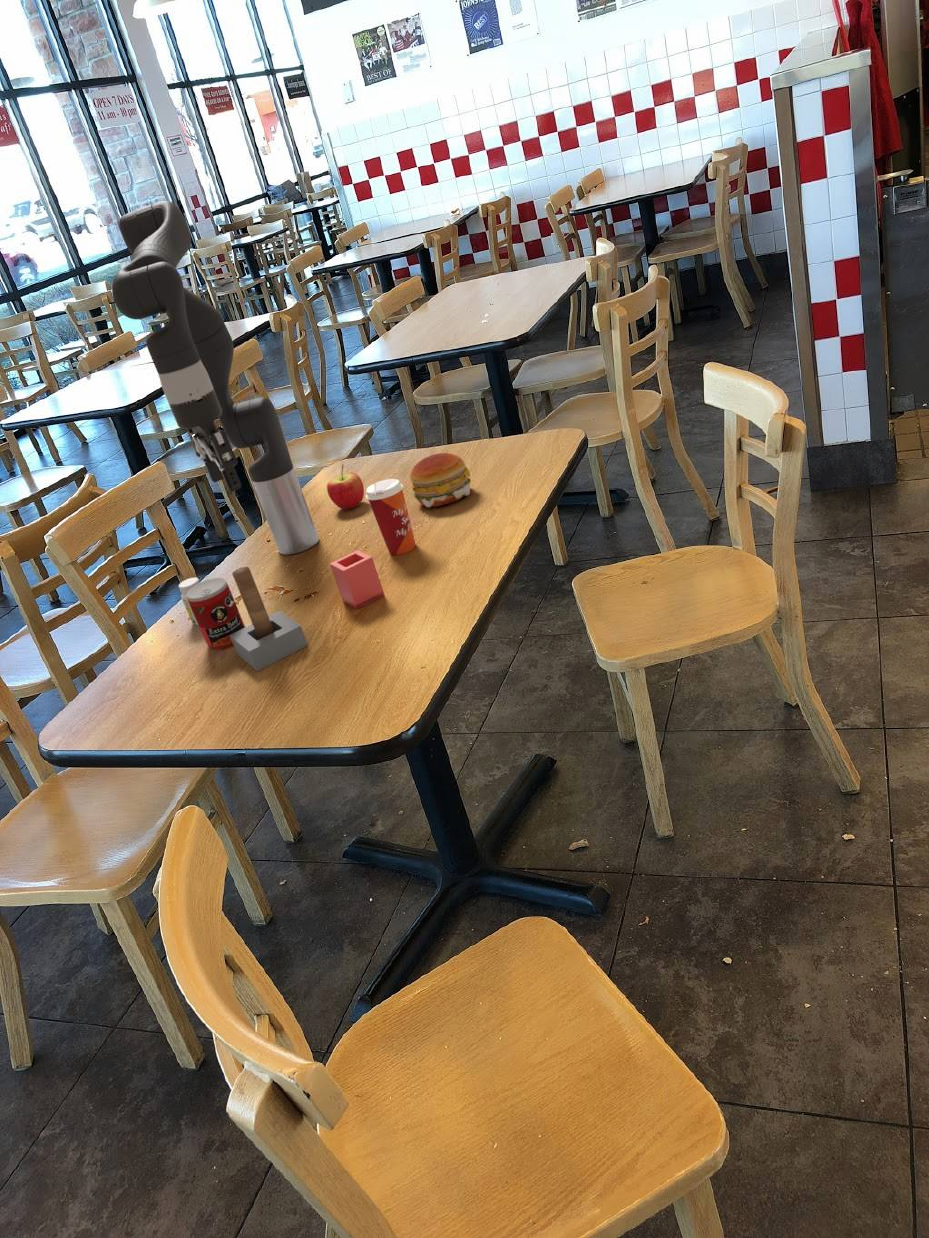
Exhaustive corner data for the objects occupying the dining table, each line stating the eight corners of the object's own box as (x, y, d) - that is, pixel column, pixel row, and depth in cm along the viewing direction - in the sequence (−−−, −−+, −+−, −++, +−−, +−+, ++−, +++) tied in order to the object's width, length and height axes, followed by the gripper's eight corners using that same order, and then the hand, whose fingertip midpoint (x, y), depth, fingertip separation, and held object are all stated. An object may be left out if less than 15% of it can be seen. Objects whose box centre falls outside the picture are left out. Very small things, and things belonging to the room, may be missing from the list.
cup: (343, 601, 186) (329, 563, 183) (370, 587, 189) (357, 550, 185) (356, 609, 181) (343, 570, 178) (384, 595, 184) (371, 557, 180)
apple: (375, 498, 234) (362, 459, 229) (354, 514, 228) (340, 474, 223) (349, 499, 238) (336, 460, 234) (327, 514, 233) (313, 475, 228)
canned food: (213, 655, 180) (190, 602, 175) (203, 641, 187) (181, 590, 182) (252, 637, 183) (231, 585, 178) (241, 624, 189) (220, 573, 184)
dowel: (260, 647, 176) (229, 572, 169) (275, 639, 177) (245, 565, 171) (266, 651, 174) (235, 576, 167) (281, 644, 175) (251, 569, 168)
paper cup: (415, 554, 197) (395, 489, 191) (380, 560, 199) (359, 496, 193) (424, 537, 204) (405, 474, 198) (390, 543, 206) (370, 481, 200)
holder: (237, 654, 178) (229, 635, 176) (286, 629, 182) (279, 610, 180) (257, 671, 170) (248, 651, 168) (308, 645, 174) (300, 625, 172)
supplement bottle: (220, 612, 197) (204, 575, 193) (208, 624, 193) (191, 587, 190) (200, 614, 199) (185, 577, 195) (188, 626, 195) (171, 589, 191)
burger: (440, 485, 230) (428, 445, 226) (486, 486, 222) (475, 444, 217) (405, 510, 221) (392, 469, 217) (452, 512, 213) (440, 468, 209)
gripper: (156, 397, 164) (193, 486, 172) (182, 407, 153) (221, 502, 160) (197, 380, 167) (232, 469, 175) (226, 389, 156) (262, 483, 163)
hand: (227, 484), depth 167 cm, fingers open, 8 cm apart
